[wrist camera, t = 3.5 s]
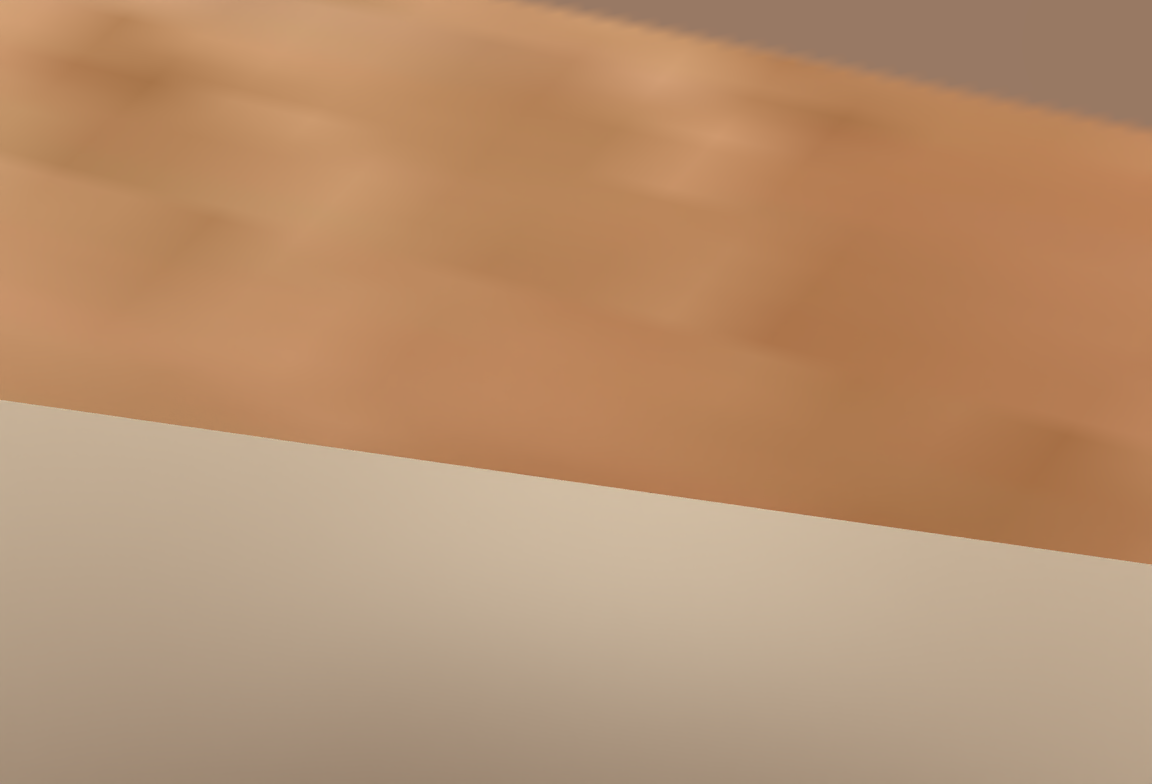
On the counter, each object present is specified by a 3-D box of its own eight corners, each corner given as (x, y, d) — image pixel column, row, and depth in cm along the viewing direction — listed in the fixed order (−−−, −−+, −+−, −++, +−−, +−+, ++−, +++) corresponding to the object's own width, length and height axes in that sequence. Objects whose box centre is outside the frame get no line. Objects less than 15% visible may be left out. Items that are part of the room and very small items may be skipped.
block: (779, 858, 15) (1407, 1507, 3) (415, 797, 15) (-278, 1164, 3) (797, 667, 15) (1370, 595, 4) (449, 615, 16) (-39, 394, 4)
